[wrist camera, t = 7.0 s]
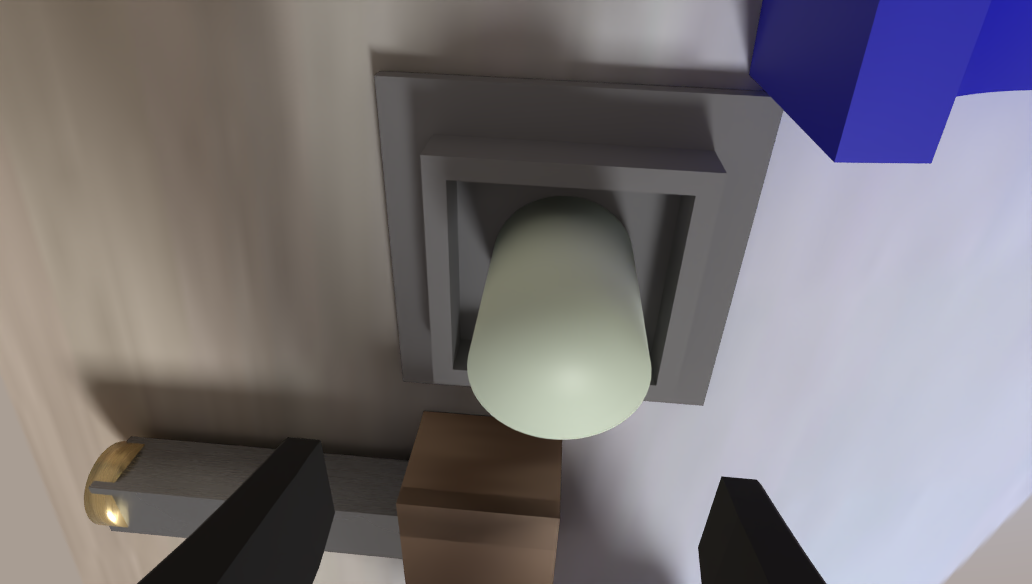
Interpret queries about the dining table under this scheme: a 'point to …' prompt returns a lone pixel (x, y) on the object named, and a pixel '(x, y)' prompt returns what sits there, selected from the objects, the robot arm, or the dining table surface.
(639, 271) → the cradle
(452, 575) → the brown wooden block
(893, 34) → the blue semicircular bracket
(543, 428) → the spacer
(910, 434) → the dining table surface
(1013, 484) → the dining table surface
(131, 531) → the shaft
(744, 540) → the robot arm
